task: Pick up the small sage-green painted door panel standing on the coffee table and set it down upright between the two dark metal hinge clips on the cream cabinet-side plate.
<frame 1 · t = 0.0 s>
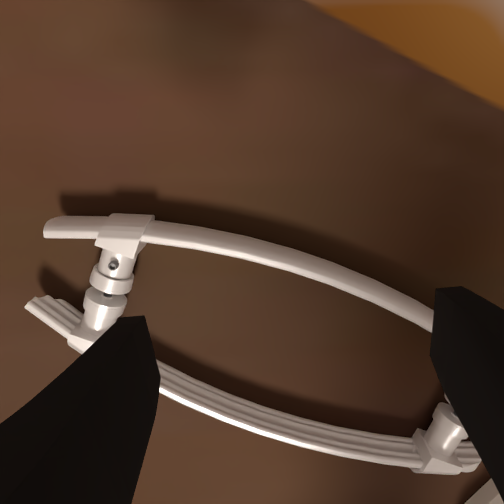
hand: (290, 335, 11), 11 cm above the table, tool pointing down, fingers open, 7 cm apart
door handle: (285, 334, 24), on the table
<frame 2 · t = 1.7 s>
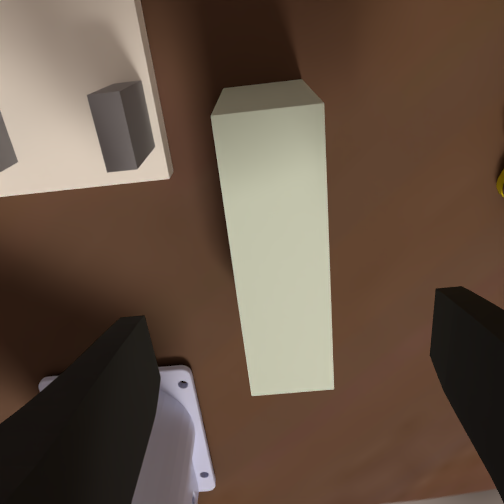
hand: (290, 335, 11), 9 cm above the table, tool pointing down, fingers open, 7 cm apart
door panel: (273, 205, 19), on the table
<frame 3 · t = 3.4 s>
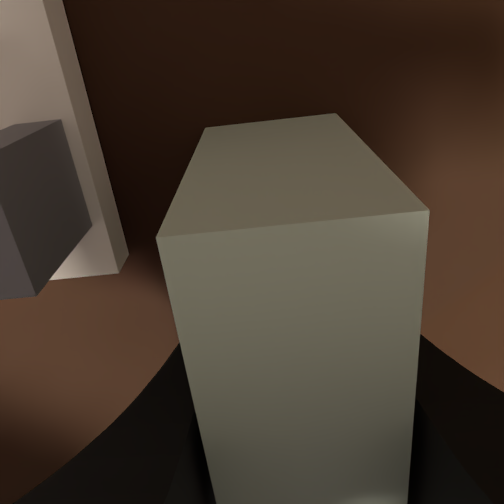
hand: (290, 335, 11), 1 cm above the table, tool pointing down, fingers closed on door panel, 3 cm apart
door panel: (286, 302, 12), on the table, touching gripper
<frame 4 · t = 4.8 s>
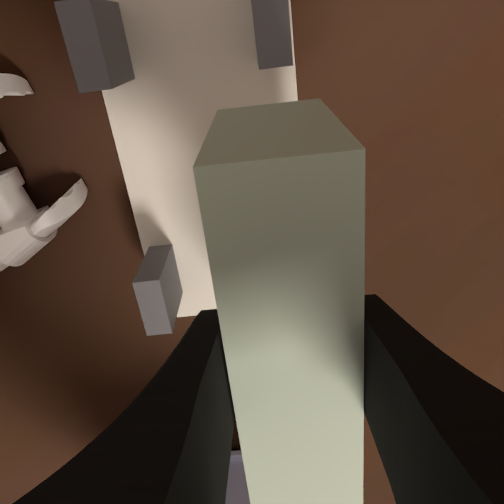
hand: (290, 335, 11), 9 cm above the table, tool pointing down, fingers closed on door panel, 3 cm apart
door panel: (281, 254, 15), point 4 cm above the table, touching gripper
hinge plate: (213, 155, 18), on the table
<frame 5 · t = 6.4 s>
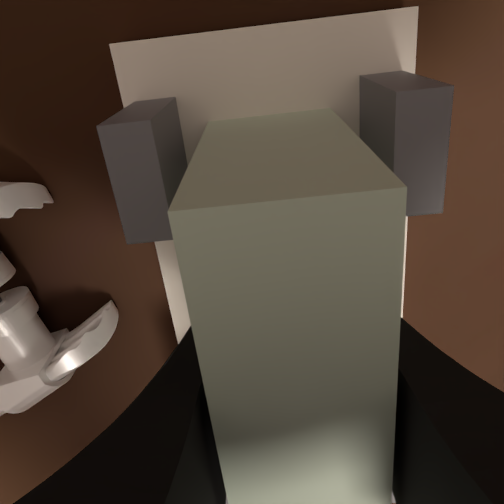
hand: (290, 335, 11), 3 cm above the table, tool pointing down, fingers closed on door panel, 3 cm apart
door panel: (284, 288, 13), point 1 cm above the table, touching gripper, hinge plate
hinge plate: (282, 272, 14), on the table
when the fingers open (3 cm above the table, at t = 6.7 s): door panel stays where it is, resting on hinge plate.
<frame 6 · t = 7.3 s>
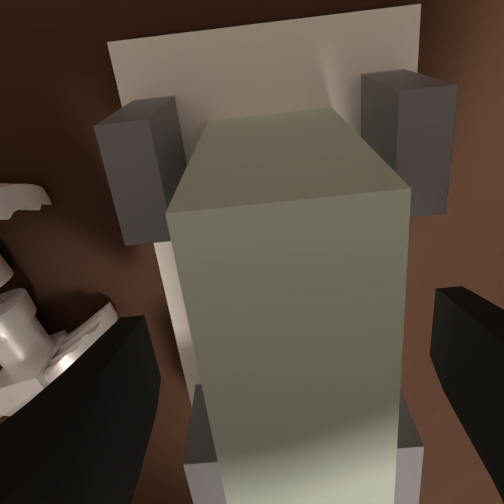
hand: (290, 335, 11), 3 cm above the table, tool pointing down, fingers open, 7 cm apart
door panel: (284, 289, 13), point 1 cm above the table, touching hinge plate
hinge plate: (282, 273, 14), on the table
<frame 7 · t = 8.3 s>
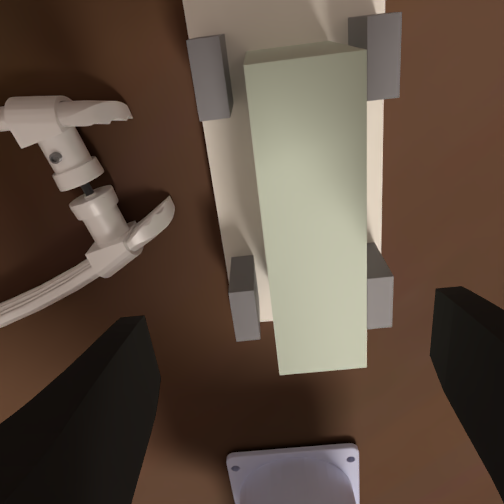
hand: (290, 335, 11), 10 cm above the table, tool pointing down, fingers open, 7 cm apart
door panel: (296, 178, 18), point 1 cm above the table, touching hinge plate
hinge plate: (294, 171, 19), on the table
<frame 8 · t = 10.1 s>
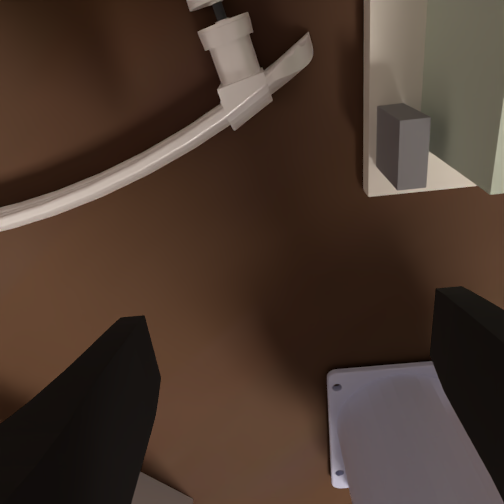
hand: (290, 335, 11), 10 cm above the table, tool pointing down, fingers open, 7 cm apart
hinge: (93, 479, 29), on the table
door handle: (6, 97, 19), on the table
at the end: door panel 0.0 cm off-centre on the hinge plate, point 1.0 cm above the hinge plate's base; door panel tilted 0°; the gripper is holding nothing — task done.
